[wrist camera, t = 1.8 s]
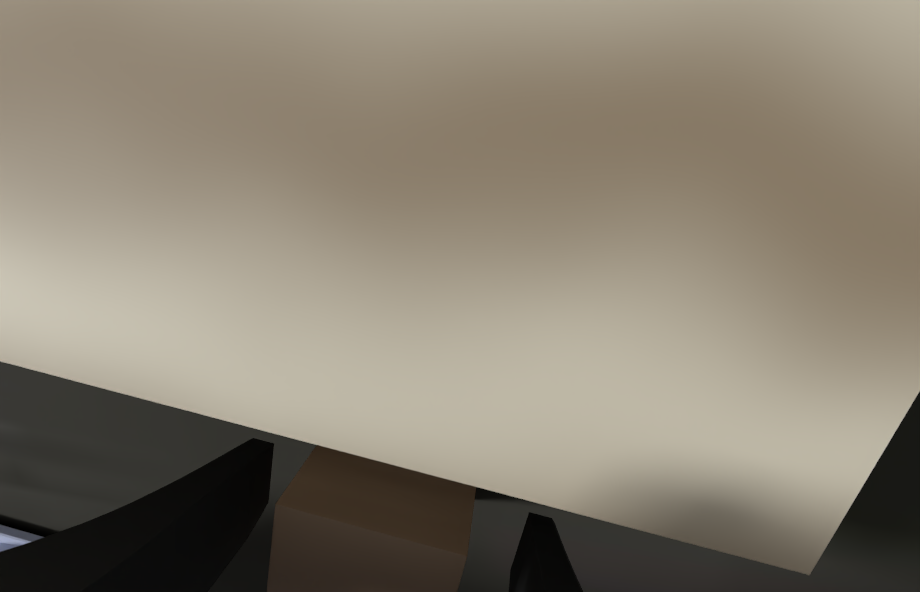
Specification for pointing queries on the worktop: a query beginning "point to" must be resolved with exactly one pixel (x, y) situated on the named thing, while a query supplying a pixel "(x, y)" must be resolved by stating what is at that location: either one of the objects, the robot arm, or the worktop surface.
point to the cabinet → (488, 238)
